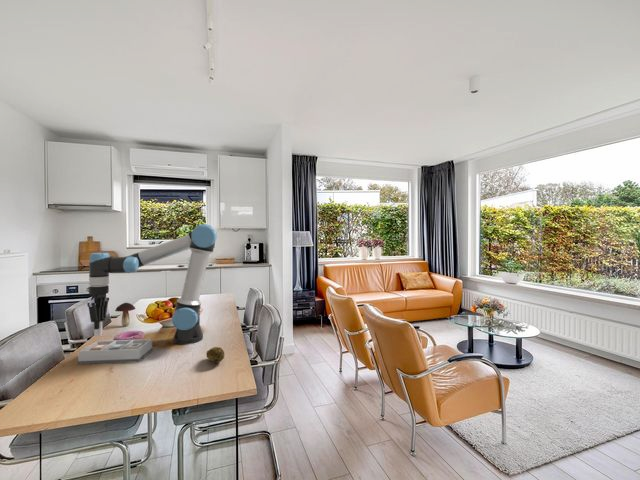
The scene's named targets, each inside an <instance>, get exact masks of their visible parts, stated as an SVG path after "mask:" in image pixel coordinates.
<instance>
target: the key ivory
mask: <svg viewBox="0 0 640 480" xmlns="http://www.w3.org/2000/svg"><path fill="white" fill-rule="evenodd" d="M142 345H143V343H135V344H131V345H130V346H128V347H127V349H138V348H139V347H141V346H142Z"/></svg>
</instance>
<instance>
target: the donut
mask: <svg viewBox="0 0 640 480" xmlns="http://www.w3.org/2000/svg"><path fill="white" fill-rule="evenodd" d="M144 332H145V331H141V330H134V331H133V330H129V331H124V332H121V333H119V334H116V335H115V336H114V337H113V339H112V340H142V339H145V333H144Z"/></svg>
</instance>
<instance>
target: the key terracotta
mask: <svg viewBox="0 0 640 480" xmlns="http://www.w3.org/2000/svg"><path fill="white" fill-rule="evenodd" d="M107 345H108V344H106V345H96V346H94V347H92V348H91V350H101V349H102V348H104V347H106V346H107Z"/></svg>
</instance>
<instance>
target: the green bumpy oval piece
mask: <svg viewBox="0 0 640 480" xmlns="http://www.w3.org/2000/svg"><path fill="white" fill-rule="evenodd" d="M225 354H226V353H225V351H224V349H223V348H222V347H221V346H220V347H219V346H213V347H211V348H210V349H208V350H206V354H205V355H206V358H207V359H208V360H209V361H210V362H212V363H214V364H215V363H216V364H217V363H220V362H222V361H223V360H224V359H225Z"/></svg>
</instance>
